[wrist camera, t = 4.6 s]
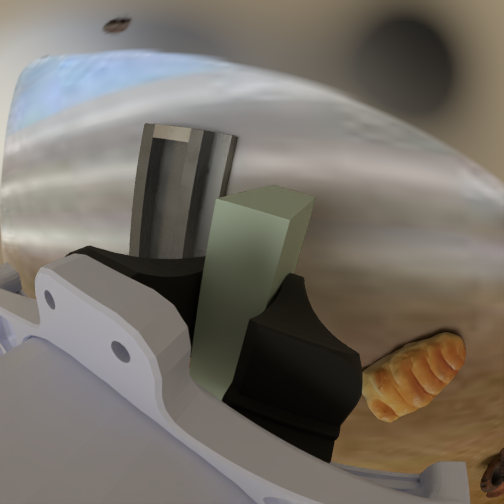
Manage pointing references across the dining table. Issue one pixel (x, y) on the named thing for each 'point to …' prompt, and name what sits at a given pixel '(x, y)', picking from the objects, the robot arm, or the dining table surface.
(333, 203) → the dining table surface
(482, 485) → the brown openwork sculpture
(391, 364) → the pastry
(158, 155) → the door track
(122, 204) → the dining table surface
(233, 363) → the door panel
